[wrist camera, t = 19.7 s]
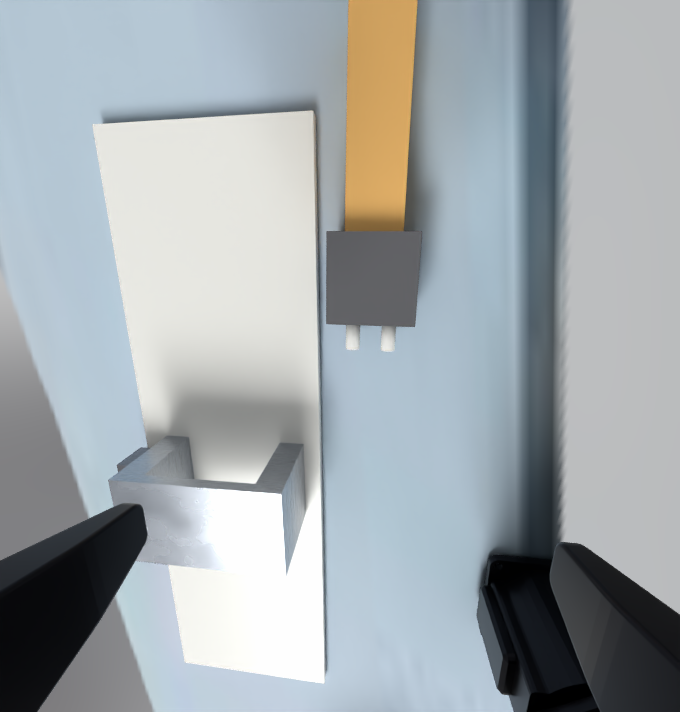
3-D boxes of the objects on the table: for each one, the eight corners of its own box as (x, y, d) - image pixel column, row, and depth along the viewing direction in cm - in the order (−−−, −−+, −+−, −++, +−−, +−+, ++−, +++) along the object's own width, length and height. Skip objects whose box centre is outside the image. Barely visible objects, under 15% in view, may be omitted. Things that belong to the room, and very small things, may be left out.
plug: (428, 25, 14) (442, -51, 11) (406, 343, 18) (412, 359, 14) (339, 32, 15) (327, -39, 11) (336, 341, 18) (326, 355, 15)
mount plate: (315, 116, 15) (312, 110, 15) (325, 674, 25) (324, 683, 24) (102, 129, 17) (92, 124, 16) (189, 653, 26) (184, 662, 26)
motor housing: (303, 443, 19) (280, 494, 15) (306, 512, 21) (285, 578, 16) (138, 433, 21) (72, 477, 16) (150, 499, 22) (92, 556, 17)
